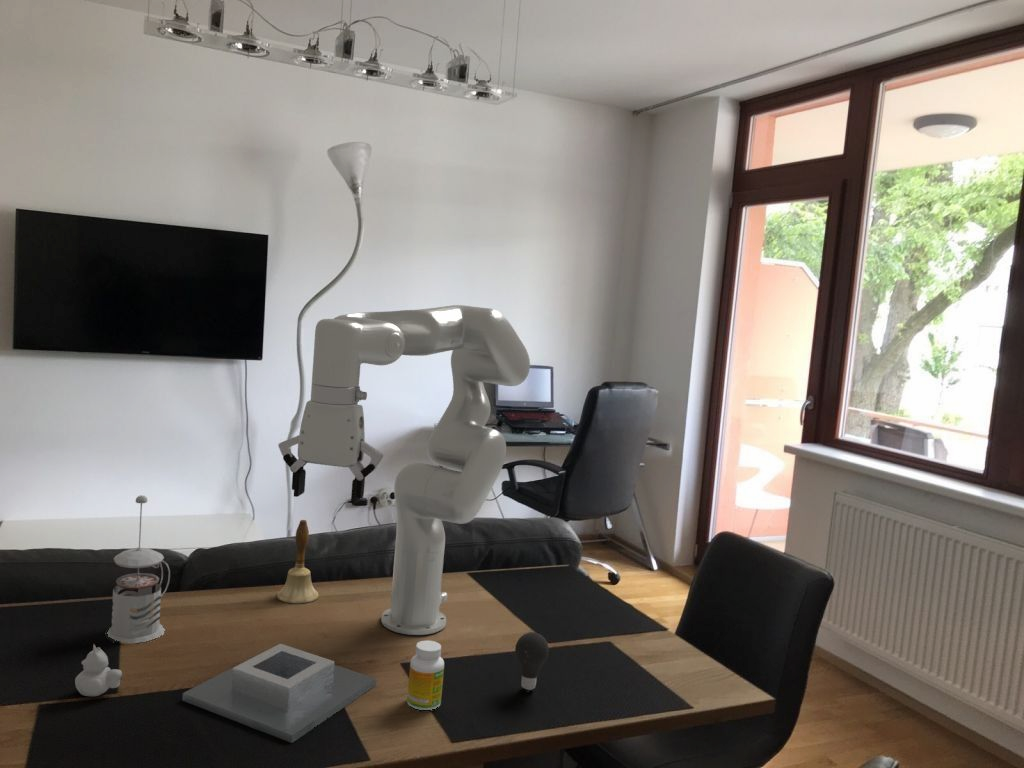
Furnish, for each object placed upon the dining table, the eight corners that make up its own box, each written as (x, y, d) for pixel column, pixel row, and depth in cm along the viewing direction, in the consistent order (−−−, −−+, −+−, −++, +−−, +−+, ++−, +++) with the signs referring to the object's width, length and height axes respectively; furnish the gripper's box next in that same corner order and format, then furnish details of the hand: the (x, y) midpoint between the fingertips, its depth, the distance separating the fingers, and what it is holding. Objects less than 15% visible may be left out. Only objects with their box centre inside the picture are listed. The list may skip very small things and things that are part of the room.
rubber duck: (82, 684, 131) (84, 635, 130) (127, 686, 132) (129, 637, 131) (68, 702, 125) (69, 650, 125) (114, 703, 126) (116, 652, 125)
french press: (91, 635, 148) (97, 495, 145) (143, 614, 158) (149, 483, 155) (134, 649, 144) (141, 506, 141) (184, 626, 155) (191, 493, 152)
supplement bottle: (435, 714, 132) (440, 655, 130) (402, 708, 133) (407, 649, 132) (444, 699, 137) (449, 641, 136) (413, 692, 138) (417, 636, 137)
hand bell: (277, 588, 177) (282, 514, 175) (318, 588, 179) (323, 515, 177) (276, 604, 169) (281, 526, 167) (318, 604, 171) (324, 527, 169)
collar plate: (275, 651, 148) (277, 626, 147) (375, 685, 139) (378, 658, 139) (182, 700, 129) (183, 671, 128) (291, 742, 120) (293, 711, 120)
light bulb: (510, 681, 145) (515, 625, 144) (542, 683, 145) (548, 627, 144) (512, 697, 139) (518, 639, 138) (546, 699, 140) (552, 641, 139)
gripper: (392, 398, 140) (384, 499, 142) (291, 387, 142) (285, 487, 144) (380, 404, 133) (372, 510, 134) (274, 392, 134) (267, 497, 136)
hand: (327, 498), depth 139 cm, fingers open, 9 cm apart
